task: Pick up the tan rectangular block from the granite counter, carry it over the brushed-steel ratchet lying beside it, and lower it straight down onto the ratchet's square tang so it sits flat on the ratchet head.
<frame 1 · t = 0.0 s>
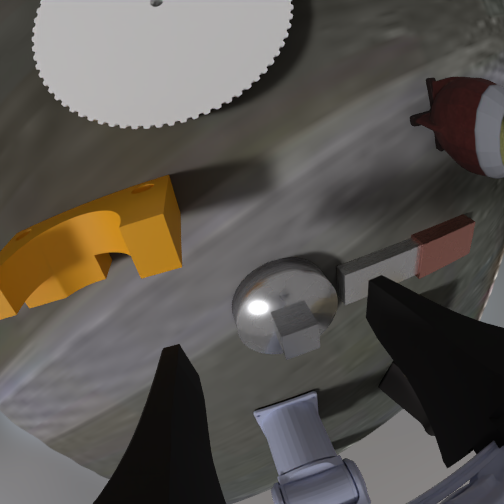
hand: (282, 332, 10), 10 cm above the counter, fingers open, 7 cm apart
plastic lid: (159, 15, 12), on the counter
mate gourd: (434, 108, 18), on the counter
phone stand: (406, 364, 36), on the counter
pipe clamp: (95, 232, 17), on the counter
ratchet: (280, 300, 23), on the counter
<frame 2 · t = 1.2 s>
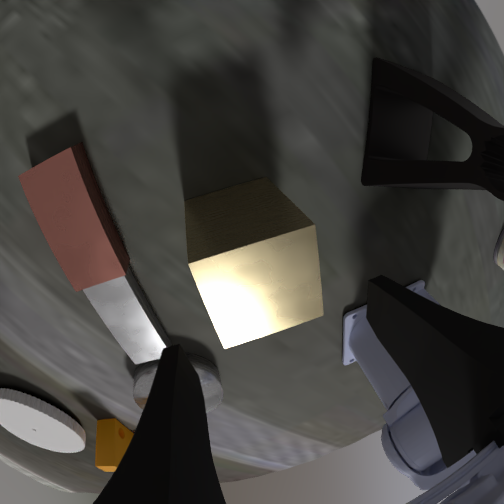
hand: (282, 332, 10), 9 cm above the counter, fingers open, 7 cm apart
plastic lid: (37, 412, 24), on the counter
phone stand: (399, 126, 17), on the counter
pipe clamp: (136, 436, 29), on the counter
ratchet: (176, 379, 24), on the counter
tan rectangular block: (235, 225, 18), on the counter
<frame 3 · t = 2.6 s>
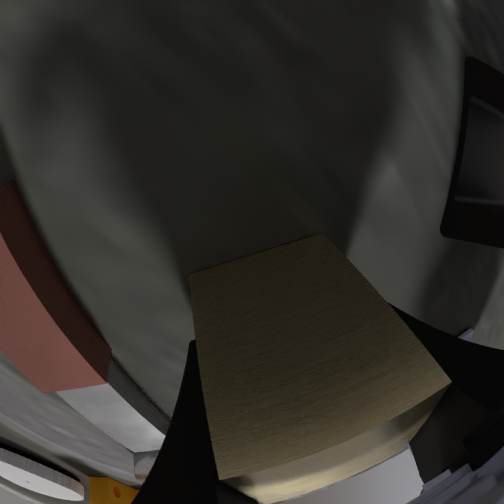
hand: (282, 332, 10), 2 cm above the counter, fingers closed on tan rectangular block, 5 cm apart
plastic lid: (29, 463, 18), on the counter
phone stand: (484, 153, 11), on the counter
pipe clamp: (135, 488, 23), on the counter
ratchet: (184, 453, 18), on the counter
tan rectangular block: (269, 304, 11), on the counter, touching gripper
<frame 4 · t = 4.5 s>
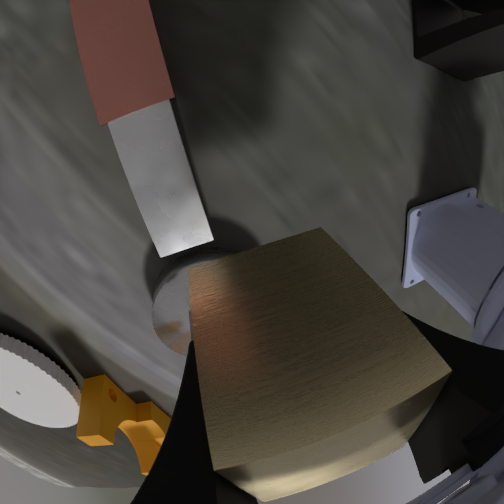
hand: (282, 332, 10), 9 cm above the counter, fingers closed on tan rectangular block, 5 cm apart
plastic lid: (24, 372, 20), on the counter
phone stand: (436, 21, 13), on the counter
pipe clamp: (135, 403, 25), on the counter
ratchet: (210, 298, 20), on the counter
tan rectangular block: (268, 300, 11), point 7 cm above the counter, touching gripper
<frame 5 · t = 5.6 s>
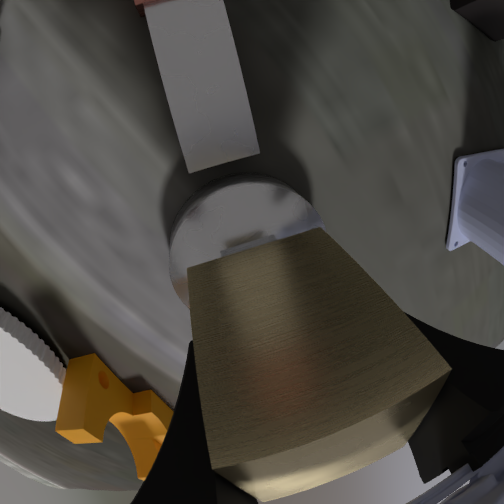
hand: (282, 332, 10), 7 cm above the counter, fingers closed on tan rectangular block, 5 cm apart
plastic lid: (3, 351, 16), on the counter
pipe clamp: (132, 393, 21), on the counter
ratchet: (243, 244, 16), on the counter
tan rectangular block: (268, 299, 11), point 5 cm above the counter, touching gripper
when the fingers open (5 cm above the counter, at t = 6.5 s): tan rectangular block stays where it is, resting on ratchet.
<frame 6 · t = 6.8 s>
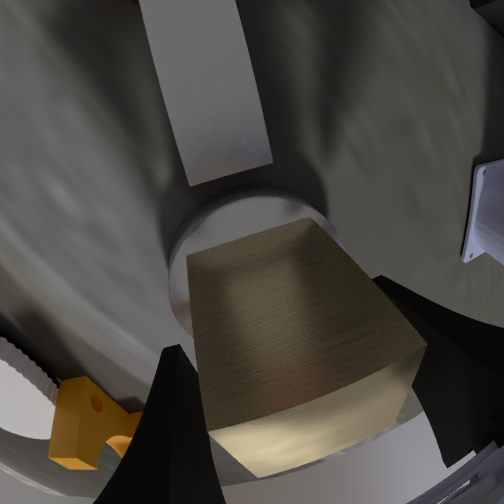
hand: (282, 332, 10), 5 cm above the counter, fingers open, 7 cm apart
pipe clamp: (127, 413, 19), on the counter
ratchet: (251, 263, 14), on the counter, touching tan rectangular block
tan rectangular block: (262, 285, 12), point 2 cm above the counter, touching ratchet
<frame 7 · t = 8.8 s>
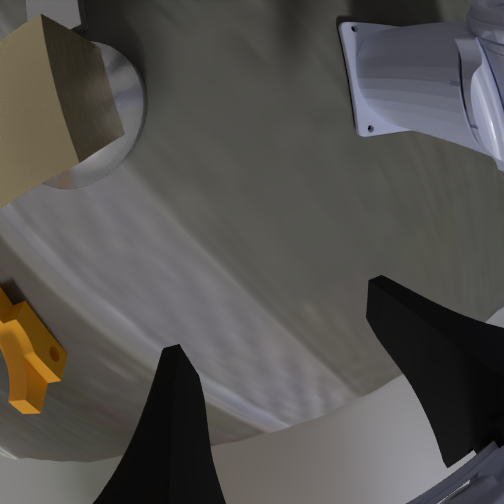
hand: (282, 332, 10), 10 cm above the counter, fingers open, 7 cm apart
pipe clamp: (14, 308, 18), on the counter
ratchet: (81, 112, 13), on the counter, touching tan rectangular block
tan rectangular block: (68, 110, 11), point 2 cm above the counter, touching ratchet
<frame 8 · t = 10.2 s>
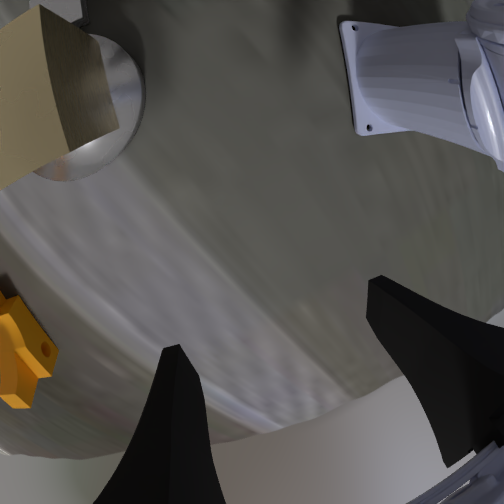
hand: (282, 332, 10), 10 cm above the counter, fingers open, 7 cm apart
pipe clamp: (7, 302, 17), on the counter
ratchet: (80, 105, 13), on the counter, touching tan rectangular block
tan rectangular block: (64, 103, 11), point 2 cm above the counter, touching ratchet
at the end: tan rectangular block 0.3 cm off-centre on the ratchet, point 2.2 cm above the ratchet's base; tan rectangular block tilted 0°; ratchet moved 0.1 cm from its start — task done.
